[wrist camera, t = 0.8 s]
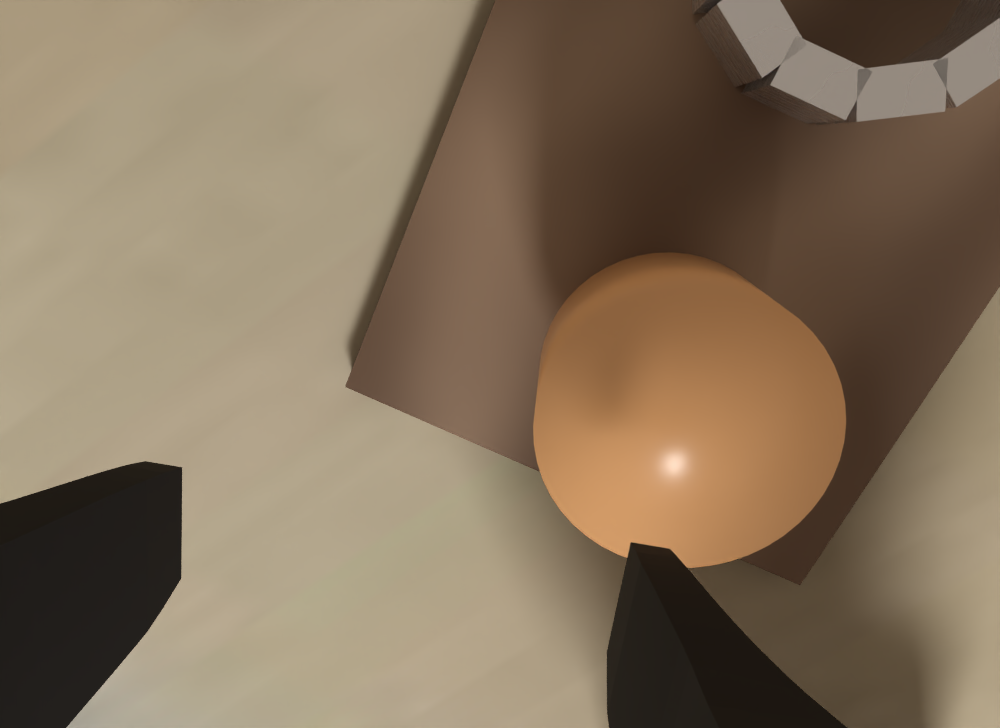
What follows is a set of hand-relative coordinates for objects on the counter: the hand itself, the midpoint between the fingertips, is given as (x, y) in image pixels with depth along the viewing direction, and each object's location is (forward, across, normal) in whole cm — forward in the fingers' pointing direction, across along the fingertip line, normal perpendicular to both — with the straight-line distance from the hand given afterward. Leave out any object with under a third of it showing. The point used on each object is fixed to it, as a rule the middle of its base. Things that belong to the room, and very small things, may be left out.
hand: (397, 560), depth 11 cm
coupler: (+9, -5, -2) cm, 10 cm away
